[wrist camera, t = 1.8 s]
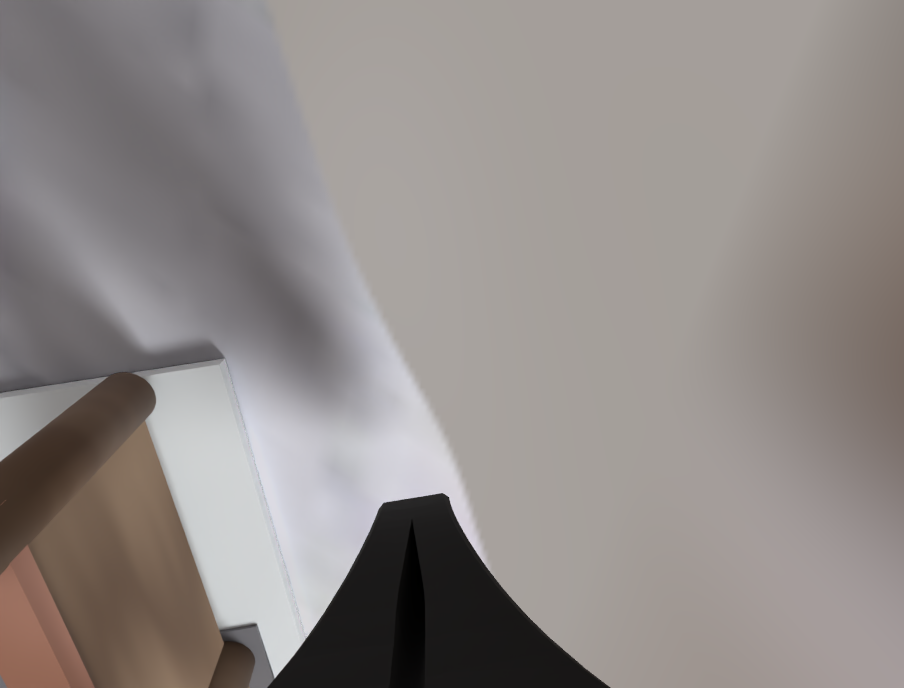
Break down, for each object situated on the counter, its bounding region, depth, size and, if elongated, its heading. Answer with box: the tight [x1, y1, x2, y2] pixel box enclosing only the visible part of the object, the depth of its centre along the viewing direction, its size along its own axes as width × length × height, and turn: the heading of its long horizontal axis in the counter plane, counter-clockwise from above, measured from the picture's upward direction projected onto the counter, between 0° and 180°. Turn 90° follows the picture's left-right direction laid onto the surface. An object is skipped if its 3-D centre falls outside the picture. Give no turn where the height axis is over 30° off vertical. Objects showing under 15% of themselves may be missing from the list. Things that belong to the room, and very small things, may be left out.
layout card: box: [0, 358, 306, 688], centre depth 16 cm, size 17×12×1 cm
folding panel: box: [0, 372, 224, 688], centre depth 11 cm, size 8×1×5 cm, turn 8°
